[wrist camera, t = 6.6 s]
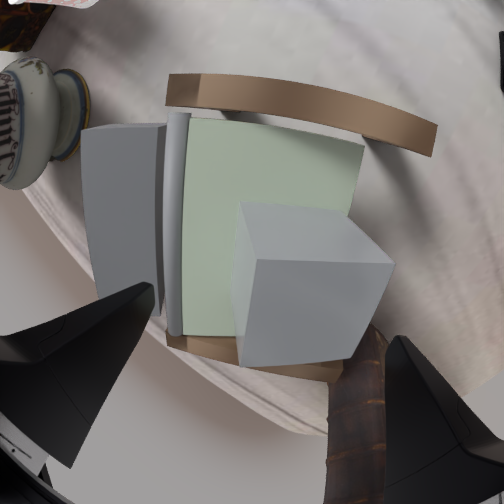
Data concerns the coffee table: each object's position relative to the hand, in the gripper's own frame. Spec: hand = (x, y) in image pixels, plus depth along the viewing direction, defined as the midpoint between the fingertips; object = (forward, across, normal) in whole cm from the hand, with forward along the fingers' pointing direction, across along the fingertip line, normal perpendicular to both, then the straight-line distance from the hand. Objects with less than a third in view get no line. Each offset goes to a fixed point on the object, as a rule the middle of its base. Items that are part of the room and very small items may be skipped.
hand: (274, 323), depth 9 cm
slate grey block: (+5, 0, 0) cm, 5 cm away
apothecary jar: (+12, +24, -6) cm, 27 cm away
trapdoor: (+9, +5, 0) cm, 10 cm away
